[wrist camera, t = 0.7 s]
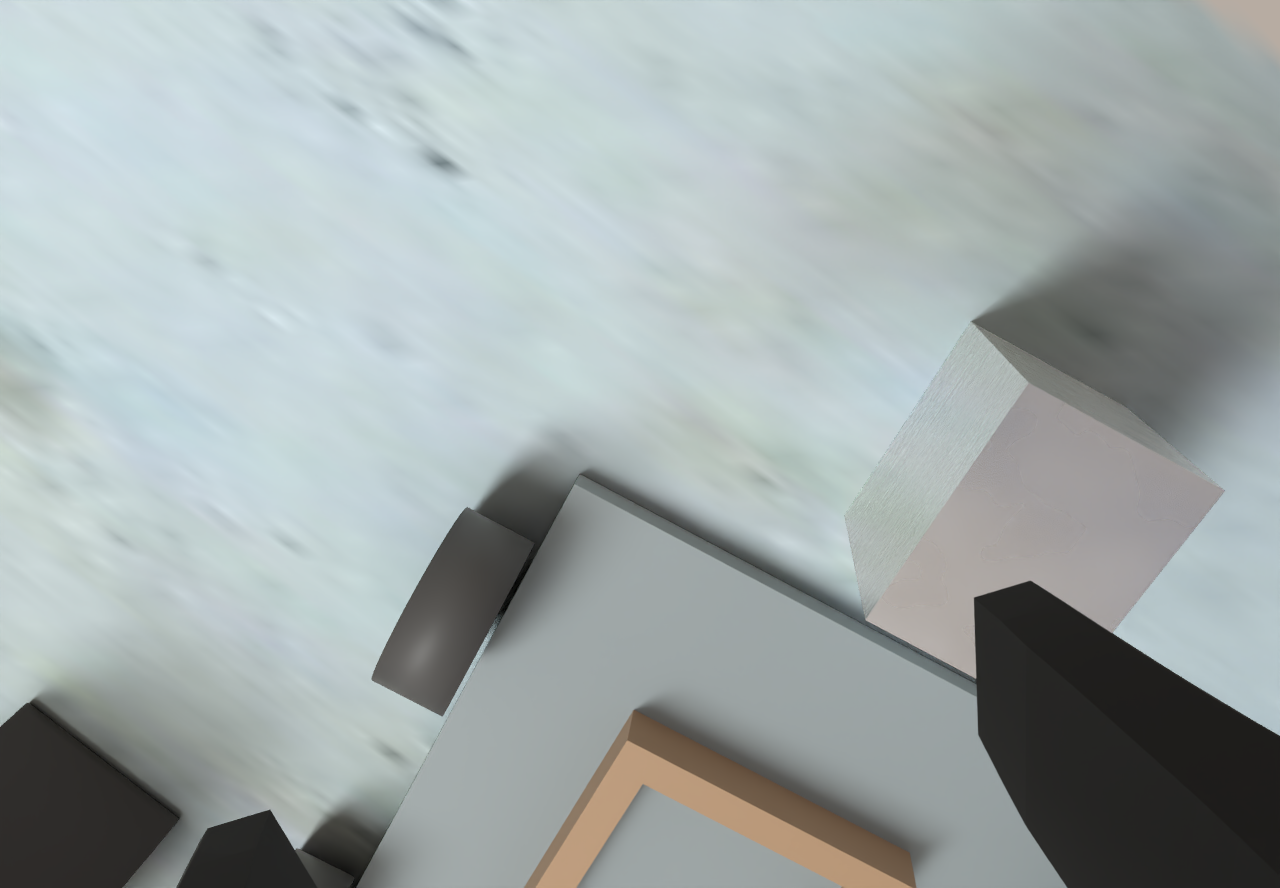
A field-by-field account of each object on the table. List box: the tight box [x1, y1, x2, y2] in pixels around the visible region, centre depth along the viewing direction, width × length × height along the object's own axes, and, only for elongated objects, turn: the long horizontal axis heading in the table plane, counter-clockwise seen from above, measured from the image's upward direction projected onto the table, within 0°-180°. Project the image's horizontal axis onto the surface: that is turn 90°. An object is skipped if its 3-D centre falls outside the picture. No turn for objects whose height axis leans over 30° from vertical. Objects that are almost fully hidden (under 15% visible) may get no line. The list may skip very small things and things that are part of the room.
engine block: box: [844, 322, 1225, 678], centre depth 24 cm, size 4×6×6 cm
